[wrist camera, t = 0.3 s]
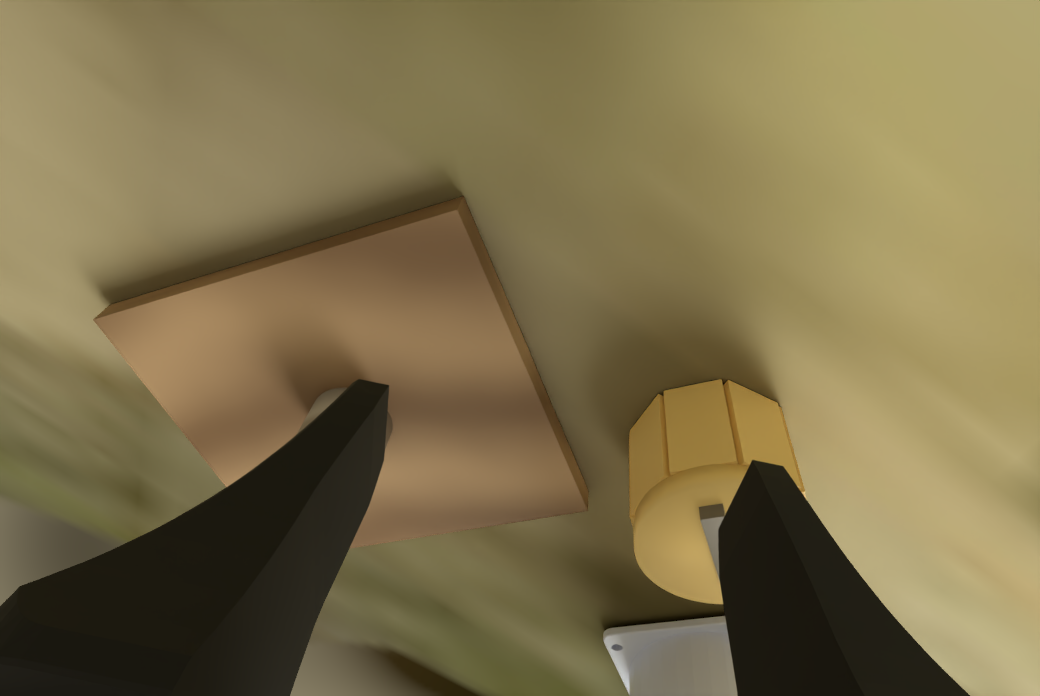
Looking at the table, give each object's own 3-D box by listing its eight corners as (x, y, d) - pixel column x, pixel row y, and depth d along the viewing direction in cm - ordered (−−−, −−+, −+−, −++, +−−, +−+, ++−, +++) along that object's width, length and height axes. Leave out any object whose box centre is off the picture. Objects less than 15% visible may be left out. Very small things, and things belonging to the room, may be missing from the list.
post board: (588, 491, 28) (584, 575, 25) (292, 541, 32) (254, 618, 29) (463, 195, 21) (435, 257, 18) (110, 304, 25) (34, 370, 22)
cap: (797, 481, 26) (832, 607, 22) (652, 504, 28) (658, 625, 24) (774, 367, 24) (809, 484, 19) (614, 399, 25) (613, 514, 21)
